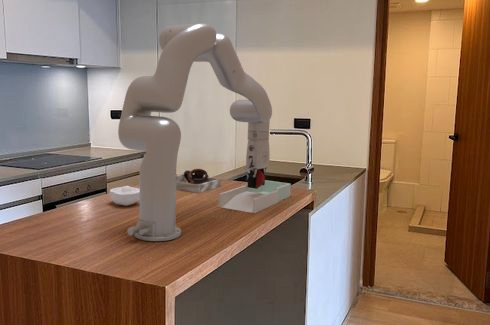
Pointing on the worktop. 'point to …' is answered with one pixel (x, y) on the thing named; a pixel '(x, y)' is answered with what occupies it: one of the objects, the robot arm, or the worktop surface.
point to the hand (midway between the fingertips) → (256, 185)
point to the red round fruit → (259, 178)
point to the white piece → (247, 200)
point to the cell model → (125, 195)
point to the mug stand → (196, 188)
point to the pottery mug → (196, 176)
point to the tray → (273, 189)
